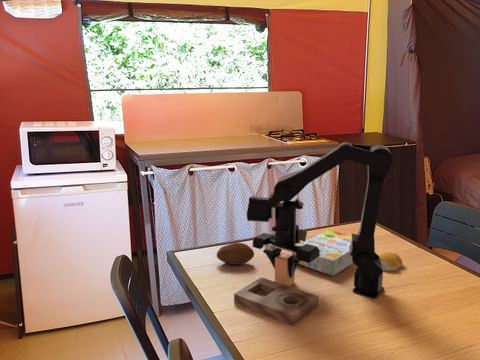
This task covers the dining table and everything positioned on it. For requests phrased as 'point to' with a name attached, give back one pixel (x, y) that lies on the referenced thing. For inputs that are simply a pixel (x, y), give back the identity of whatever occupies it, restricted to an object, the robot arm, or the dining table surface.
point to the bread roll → (390, 261)
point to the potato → (235, 253)
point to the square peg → (283, 270)
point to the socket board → (277, 300)
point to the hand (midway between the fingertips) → (284, 275)
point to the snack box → (330, 252)
